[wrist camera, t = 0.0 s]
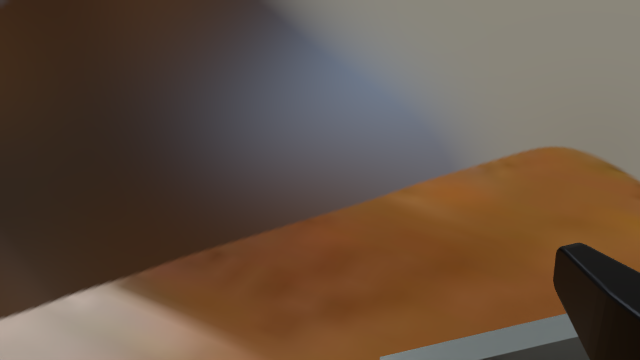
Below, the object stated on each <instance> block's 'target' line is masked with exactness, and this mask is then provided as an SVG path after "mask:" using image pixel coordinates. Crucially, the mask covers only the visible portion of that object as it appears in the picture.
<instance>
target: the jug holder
mask: <svg viewBox="0 0 640 360" xmlns="http://www.w3.org/2000/svg"><path fill="white" fill-rule="evenodd" d="M380 360H590V359H589V357H588V355H587V354H586V352H585V349H584V347H583V345H582V343H581V341H580V339H579V337H578V335H577V333H576V331H575V329H574V327H573V325H572V323H571V321H570V319H569V317H568V315H567V314H563V315H559V316H554V317H550V318H546V319H542V320H537V321H533V322H529V323H524V324H520V325H516V326H512V327H507V328H503V329H499V330H494V331H490V332H486V333H482V334H477V335H473V336H469V337H464V338H460V339H456V340H452V341H447V342H443V343H439V344H434V345H430V346H426V347H421V348H417V349H413V350H409V351H404V352H400V353H396V354H391V355H387V356H383V357H380Z"/></svg>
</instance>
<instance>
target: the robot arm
mask: <svg viewBox="0 0 640 360" xmlns="http://www.w3.org/2000/svg"><path fill="white" fill-rule="evenodd" d="M553 282H554V287H555V290H556V292H557V294H558V296H559V298H560V301H561V303H562V305H563V307H564V309H565V311H566V313H567V315H568V317H569V319H570V321H571V323H572V325H573V327H574V329H575V331H576V333H577V335H578V337H579V339H580V341H581V343H582V345H583V347H584V349H585V352H586V354H587V355H588V357H589V359H590V360H640V273H639V272H637V271H635V270H634V269H632V268H630V267H628V266H626V265H624V264H622V263H620V262H618V261H616V260H614V259H612V258H610V257H608V256H607V255H605V254H603V253H601V252H599V251H597V250H595V249H593V248H591V247H589V246H587V245H585V244H582V243H574V244H570V245H566V246H561V247H559V248H558V250H557V252H556V259H555V268H554V276H553Z"/></svg>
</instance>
